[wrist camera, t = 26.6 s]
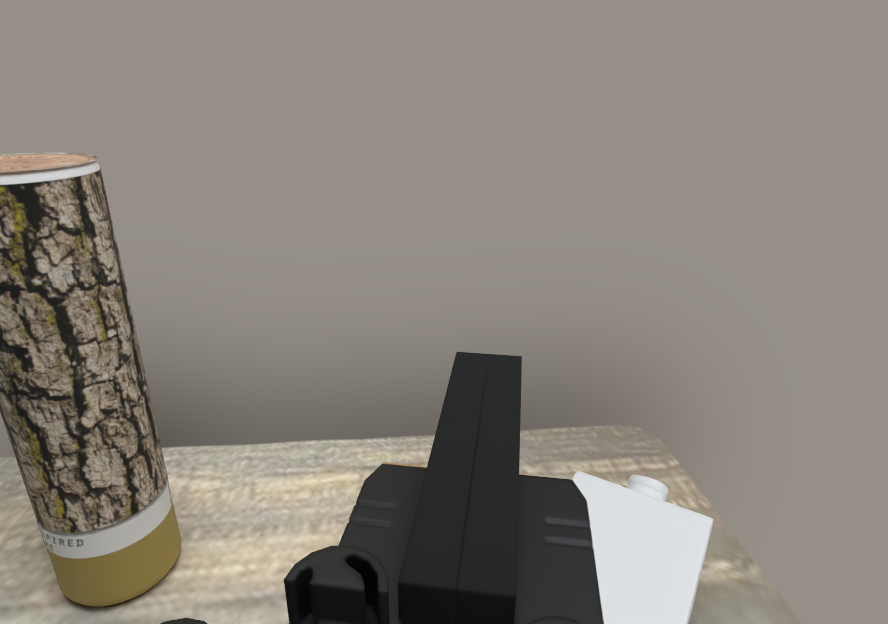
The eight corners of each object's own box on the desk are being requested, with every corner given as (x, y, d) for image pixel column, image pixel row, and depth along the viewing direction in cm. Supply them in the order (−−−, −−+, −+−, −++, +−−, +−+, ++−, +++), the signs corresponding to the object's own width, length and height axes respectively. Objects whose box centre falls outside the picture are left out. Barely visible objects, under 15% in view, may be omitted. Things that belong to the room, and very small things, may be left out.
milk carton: (431, 815, 23) (587, 524, 38) (607, 947, 19) (701, 569, 34) (431, 697, 20) (599, 433, 35) (635, 827, 17) (725, 473, 32)
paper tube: (128, 625, 32) (1, 177, 23) (33, 598, 34) (-123, 169, 24) (205, 538, 38) (130, 156, 29) (121, 518, 40) (23, 150, 30)
